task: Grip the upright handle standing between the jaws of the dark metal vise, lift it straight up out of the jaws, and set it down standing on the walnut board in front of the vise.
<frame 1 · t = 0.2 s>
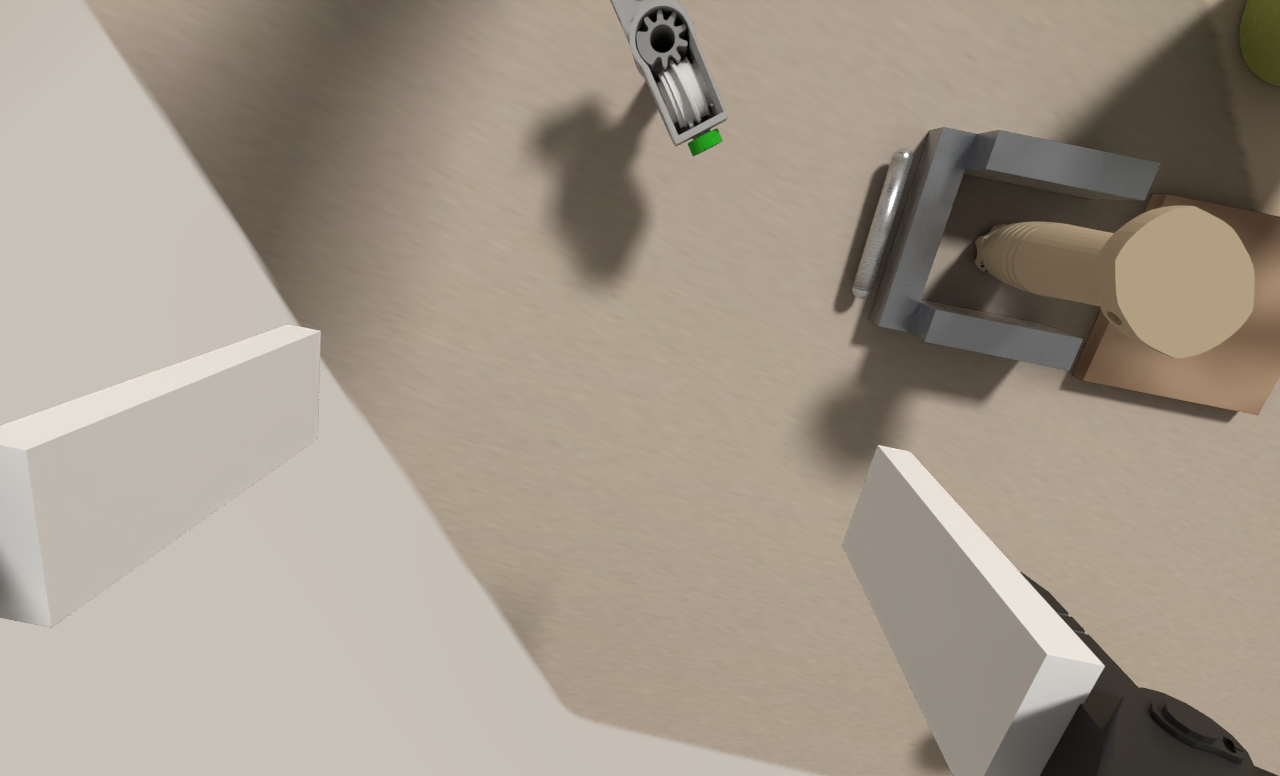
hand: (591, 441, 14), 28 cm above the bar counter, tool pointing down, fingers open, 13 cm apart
vise: (996, 249, 39), on the bar counter
handle: (994, 249, 39), on the bar counter
walnut board: (1199, 306, 39), on the bar counter
mechanical component: (664, 77, 37), on the bar counter
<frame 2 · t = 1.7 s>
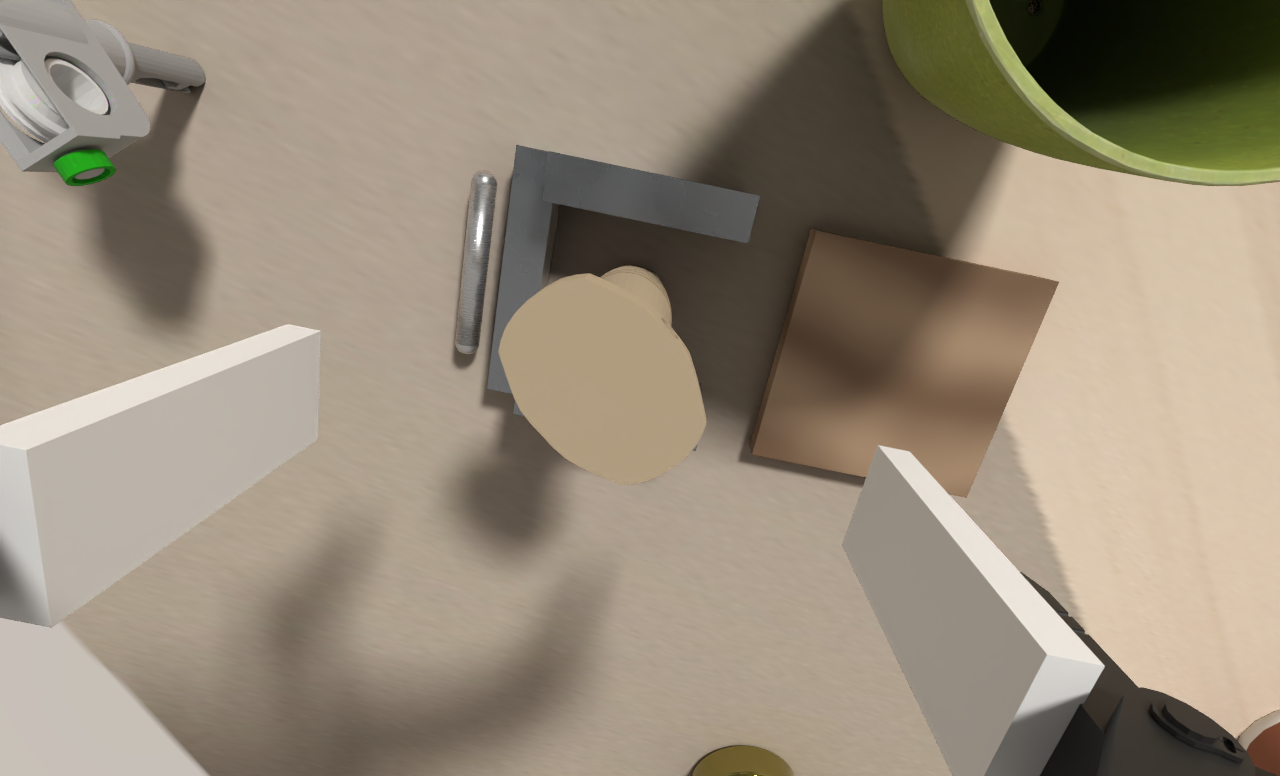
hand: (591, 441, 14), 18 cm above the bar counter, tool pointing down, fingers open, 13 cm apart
flower pot: (963, 8, 27), on the bar counter
vise: (633, 294, 31), on the bar counter
handle: (633, 294, 31), on the bar counter
walnut board: (888, 366, 32), on the bar counter
mechanical component: (192, 77, 29), on the bar counter
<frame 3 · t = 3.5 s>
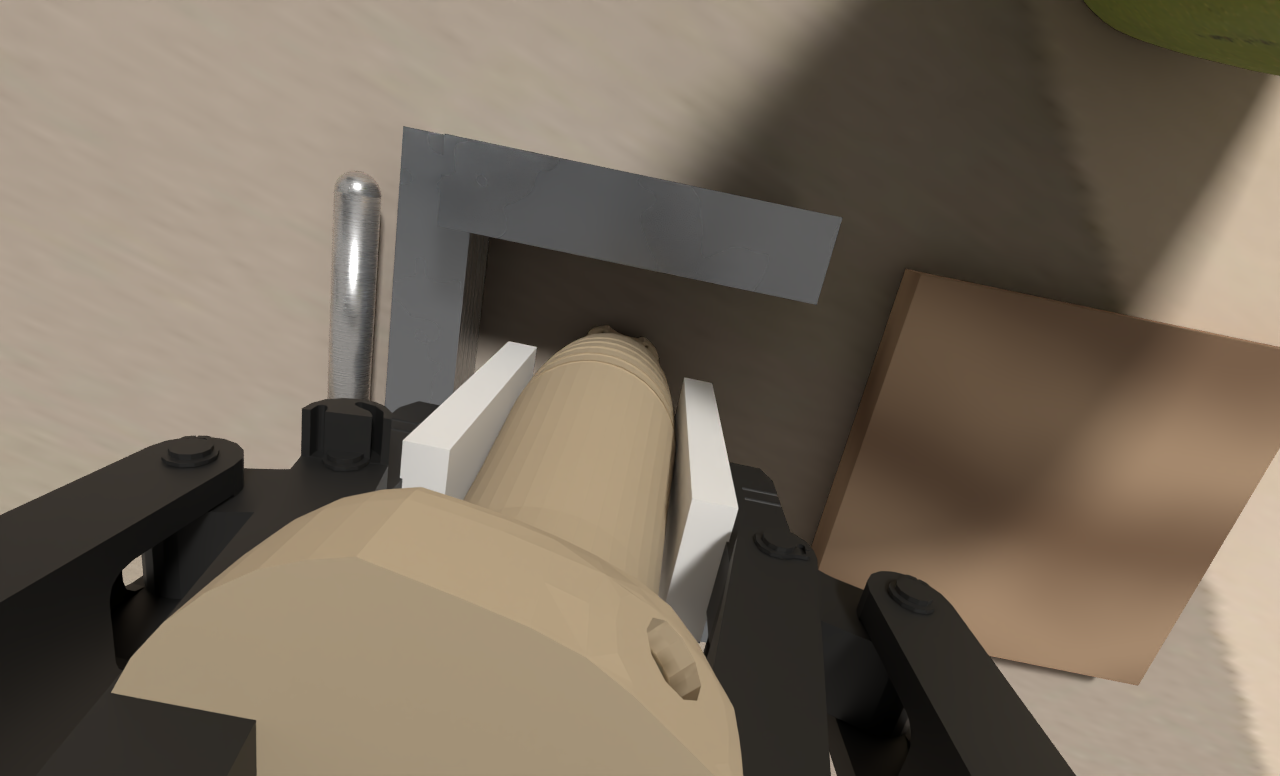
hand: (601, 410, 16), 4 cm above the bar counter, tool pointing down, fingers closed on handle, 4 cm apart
vise: (613, 371, 19), on the bar counter
handle: (614, 369, 20), on the bar counter, touching gripper
walnut board: (1020, 483, 20), on the bar counter
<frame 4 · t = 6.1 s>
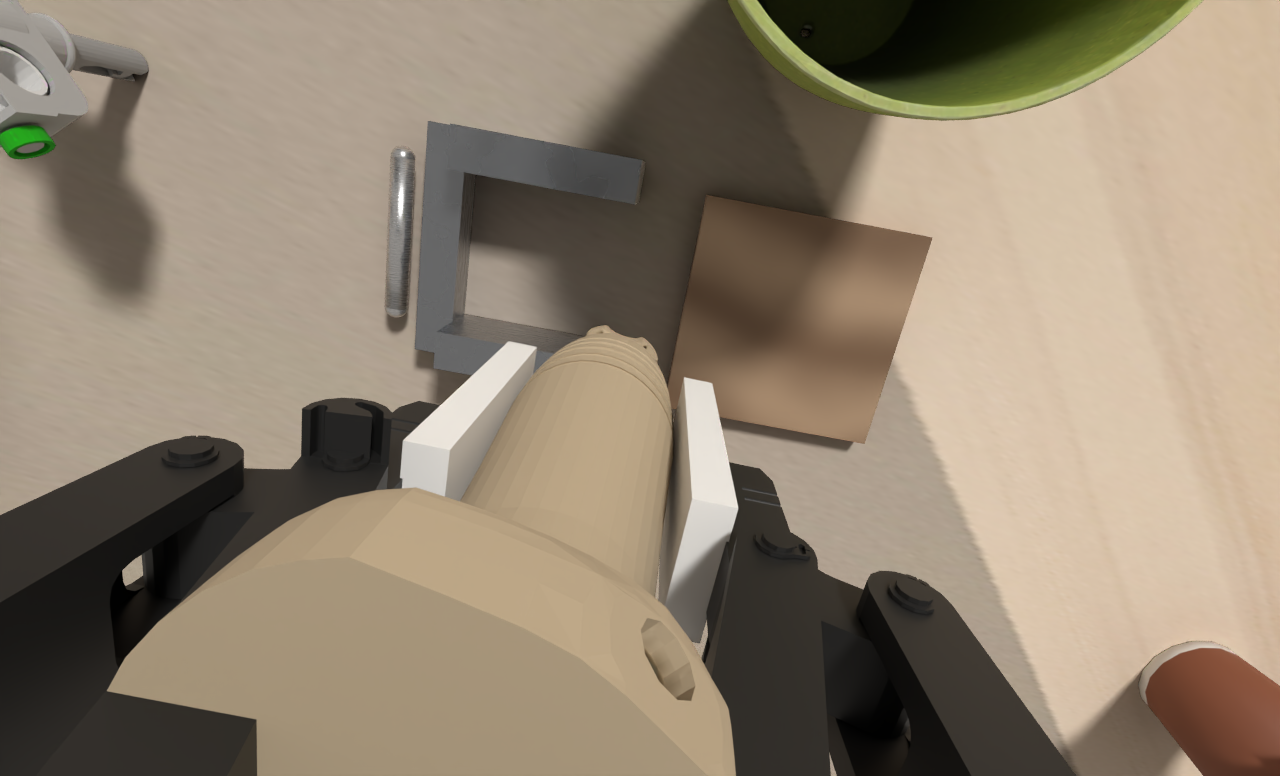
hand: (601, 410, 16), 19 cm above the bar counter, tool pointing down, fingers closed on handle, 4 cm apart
vise: (548, 259, 34), on the bar counter
handle: (613, 369, 20), point 15 cm above the bar counter, touching gripper
walnut board: (786, 322, 34), on the bar counter
coffee cup: (1186, 676, 41), on the bar counter
mechanical component: (136, 66, 32), on the bar counter
when the fingers open (6 cm above the bar counter, at t = 8.5 s): handle stays where it is, resting on walnut board.
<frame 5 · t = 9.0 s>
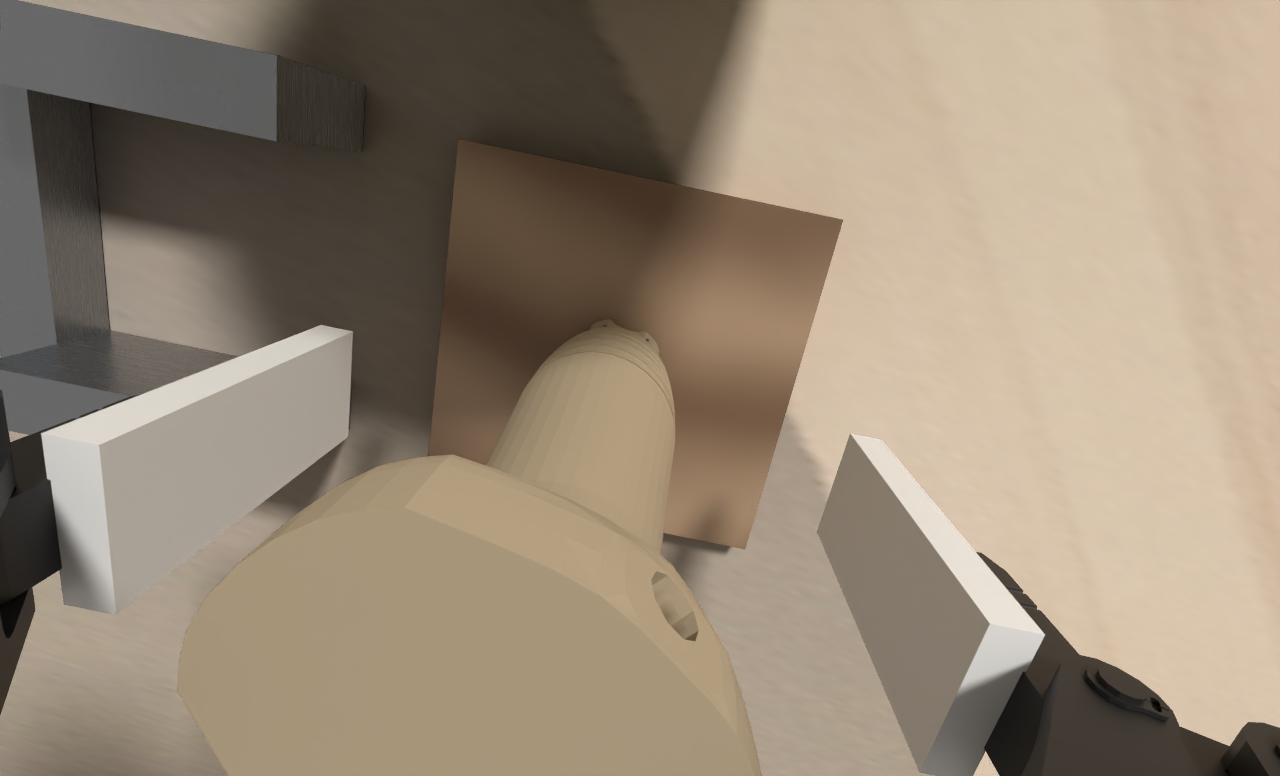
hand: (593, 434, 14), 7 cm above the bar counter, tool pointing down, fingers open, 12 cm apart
vise: (228, 246, 21), on the bar counter
handle: (616, 362, 20), point 1 cm above the bar counter, touching walnut board
walnut board: (618, 355, 21), on the bar counter
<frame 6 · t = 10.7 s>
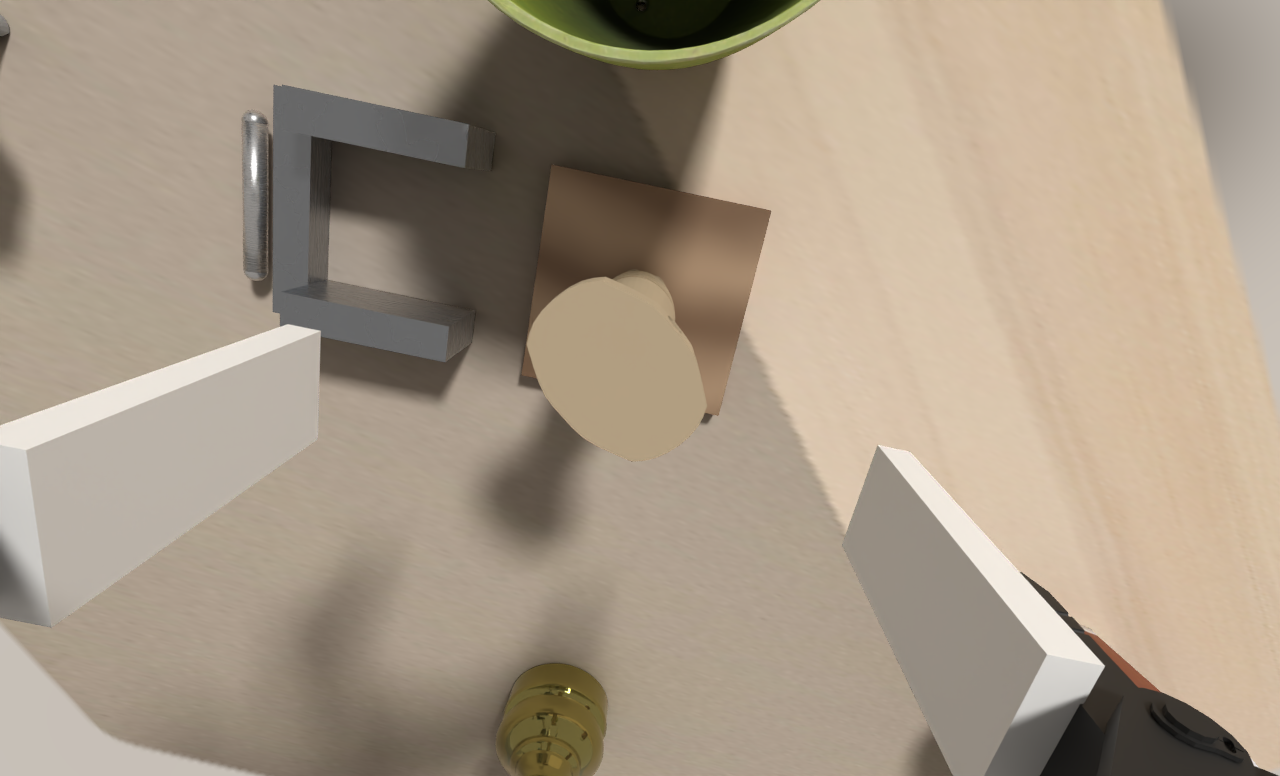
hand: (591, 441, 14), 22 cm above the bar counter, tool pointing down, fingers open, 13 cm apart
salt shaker: (560, 697, 45), on the bar counter
vise: (406, 227, 35), on the bar counter
handle: (639, 296, 34), point 1 cm above the bar counter, touching walnut board
walnut board: (640, 293, 35), on the bar counter
coffee cup: (1052, 657, 42), on the bar counter
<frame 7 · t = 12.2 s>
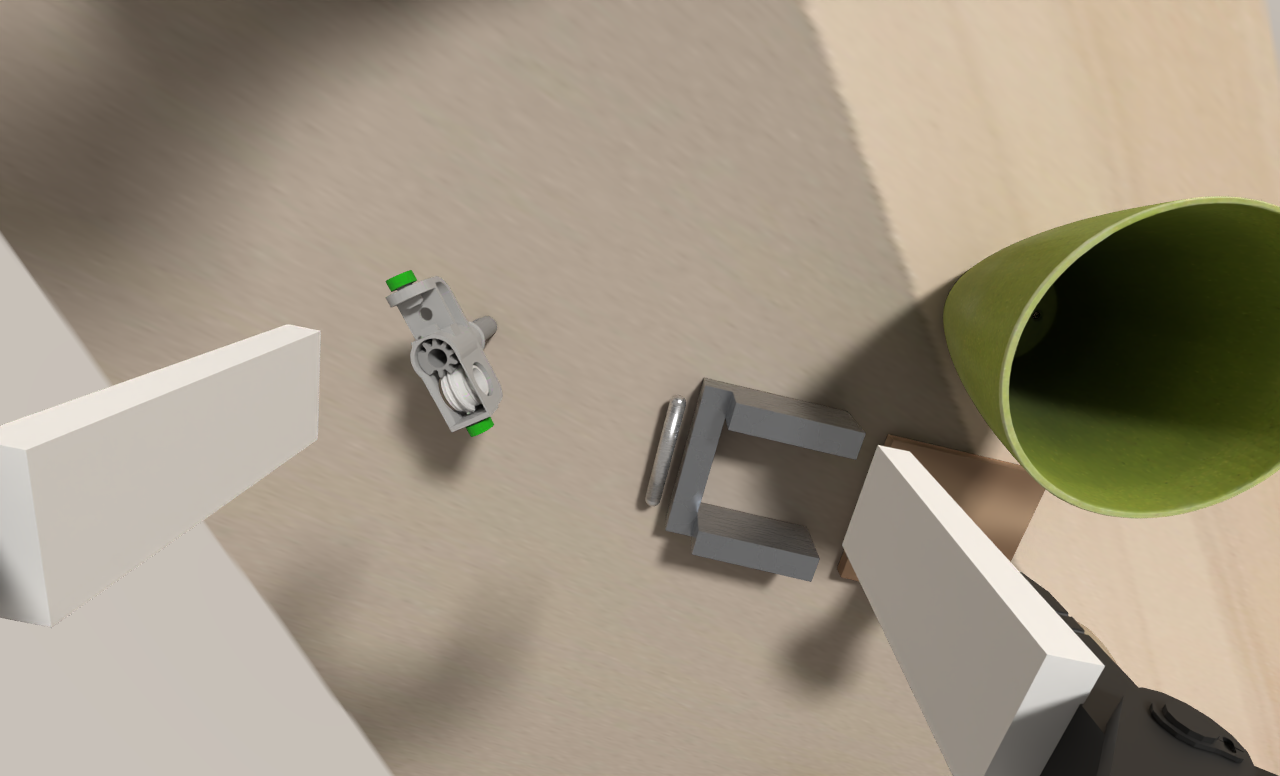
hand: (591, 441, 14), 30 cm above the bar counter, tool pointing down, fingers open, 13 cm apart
flower pot: (992, 310, 42), on the bar counter
vise: (765, 469, 46), on the bar counter
walnut board: (935, 521, 47), on the bar counter
mechanical component: (487, 326, 44), on the bar counter
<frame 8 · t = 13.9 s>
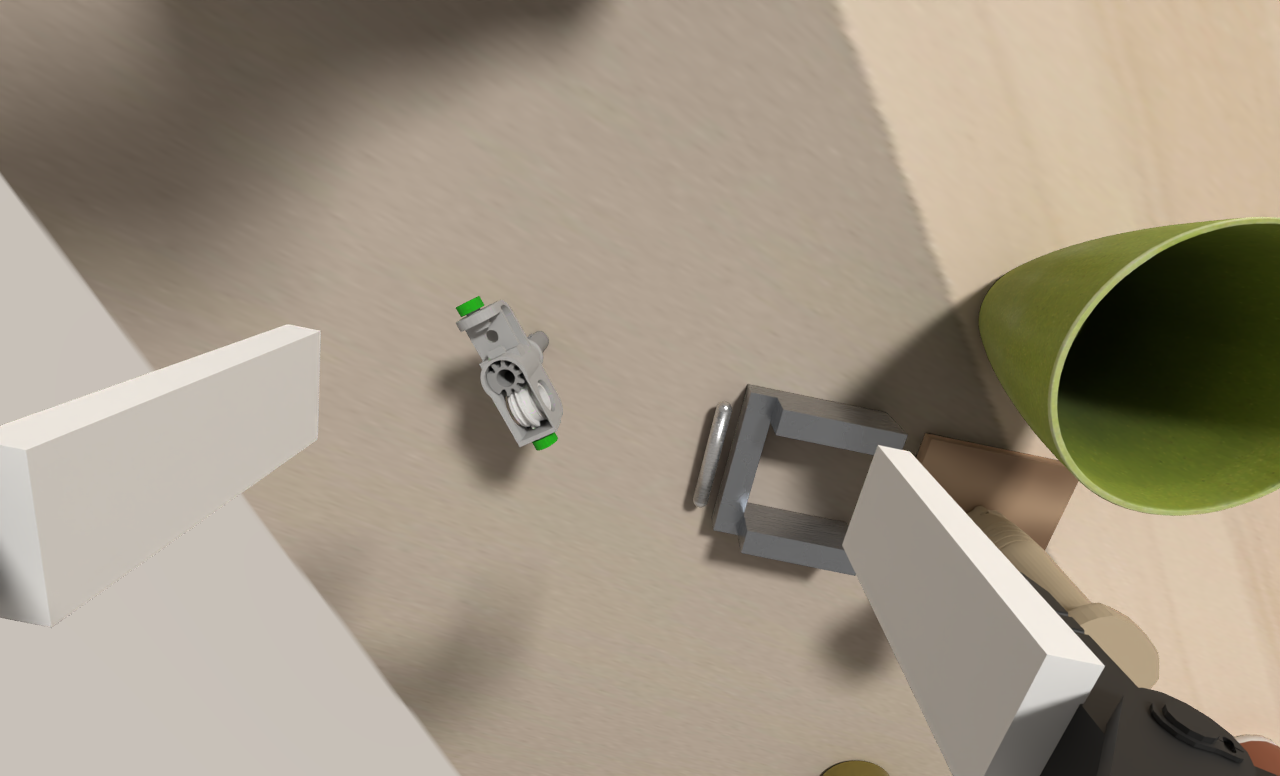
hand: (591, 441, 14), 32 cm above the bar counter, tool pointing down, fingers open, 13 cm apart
flower pot: (1025, 313, 44), on the bar counter
vise: (807, 469, 48), on the bar counter
handle: (977, 520, 48), point 1 cm above the bar counter, touching walnut board
walnut board: (971, 514, 49), on the bar counter
coffee cup: (1239, 759, 56), on the bar counter
mechanical component: (539, 340, 46), on the bar counter
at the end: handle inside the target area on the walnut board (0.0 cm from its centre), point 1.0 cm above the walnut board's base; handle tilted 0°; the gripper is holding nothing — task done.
